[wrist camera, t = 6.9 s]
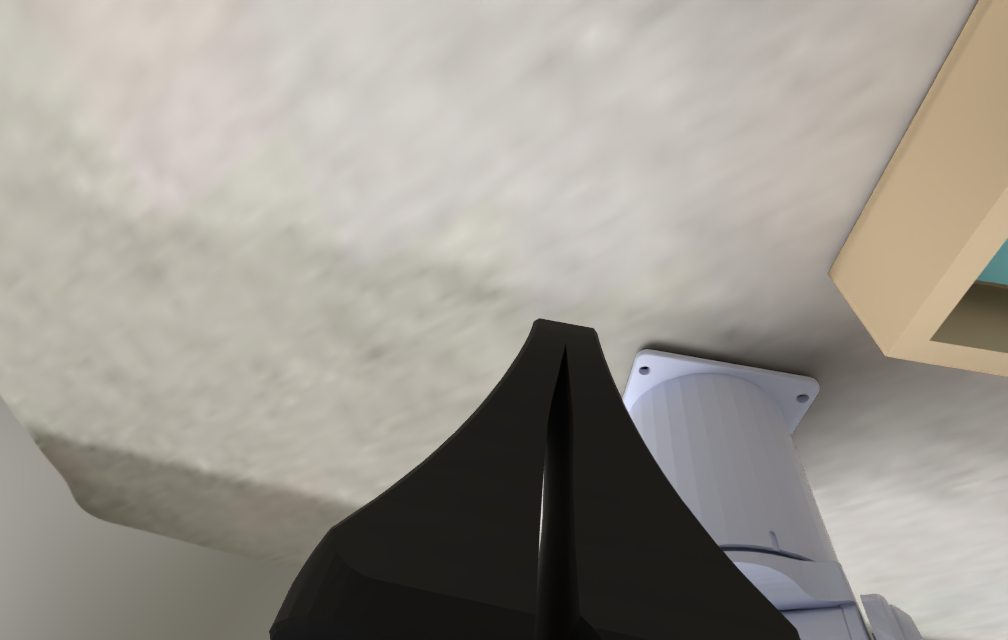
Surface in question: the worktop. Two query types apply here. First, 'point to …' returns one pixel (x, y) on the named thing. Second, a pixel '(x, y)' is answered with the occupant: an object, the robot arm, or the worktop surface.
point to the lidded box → (942, 217)
